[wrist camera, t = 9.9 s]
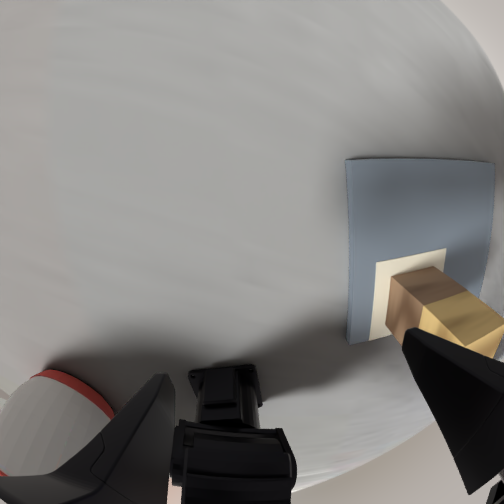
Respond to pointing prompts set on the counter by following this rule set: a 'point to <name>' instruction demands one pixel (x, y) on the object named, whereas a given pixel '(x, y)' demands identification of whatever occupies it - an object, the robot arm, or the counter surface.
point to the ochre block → (464, 323)
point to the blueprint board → (413, 229)
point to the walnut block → (416, 297)
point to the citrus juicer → (48, 423)
